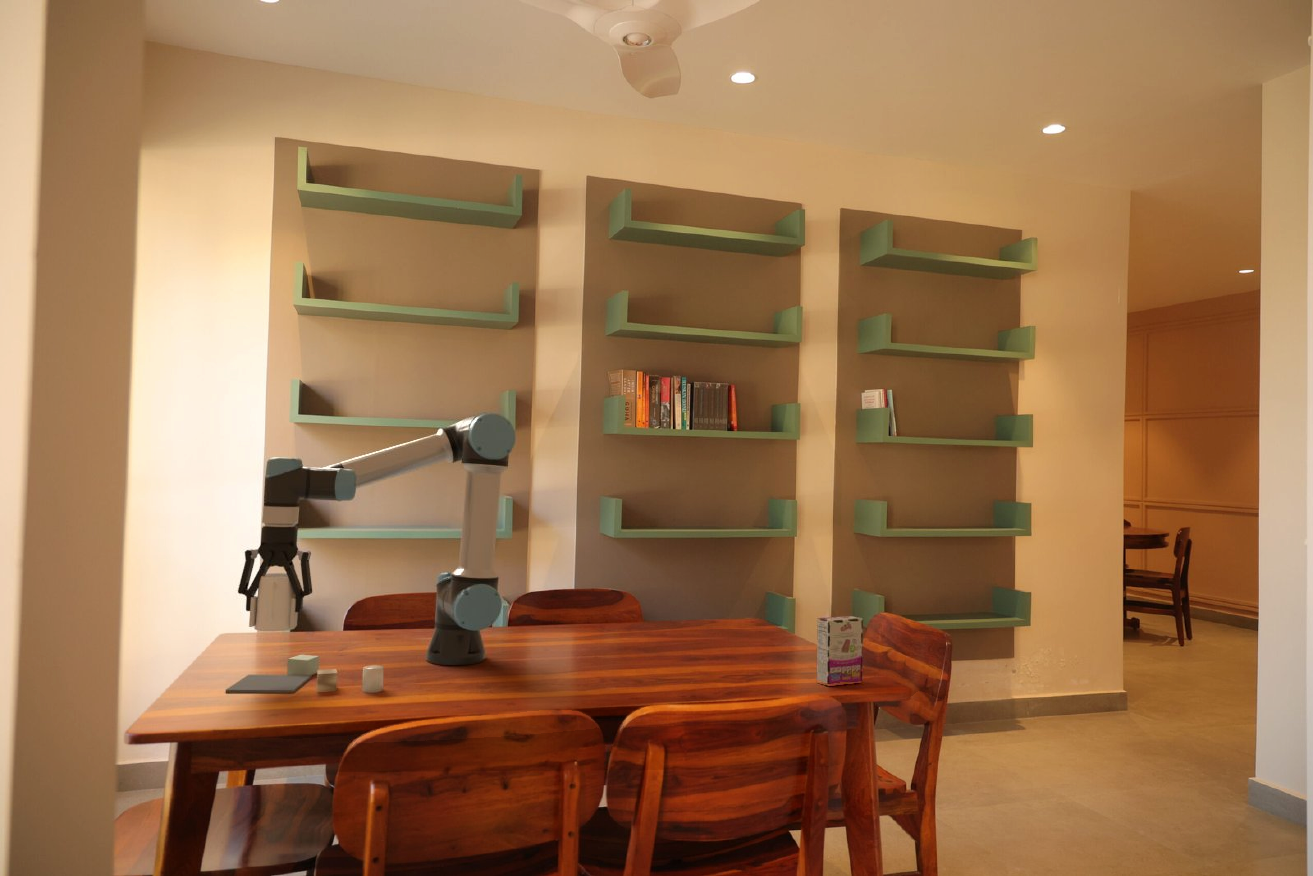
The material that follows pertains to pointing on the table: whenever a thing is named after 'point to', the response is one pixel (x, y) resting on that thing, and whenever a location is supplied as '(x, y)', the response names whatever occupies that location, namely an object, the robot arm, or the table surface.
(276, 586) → the mug
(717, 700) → the table surface
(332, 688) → the maple block
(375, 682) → the beige rounded block
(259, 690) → the coaster
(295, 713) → the table surface
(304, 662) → the sage block
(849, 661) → the candy bar box
